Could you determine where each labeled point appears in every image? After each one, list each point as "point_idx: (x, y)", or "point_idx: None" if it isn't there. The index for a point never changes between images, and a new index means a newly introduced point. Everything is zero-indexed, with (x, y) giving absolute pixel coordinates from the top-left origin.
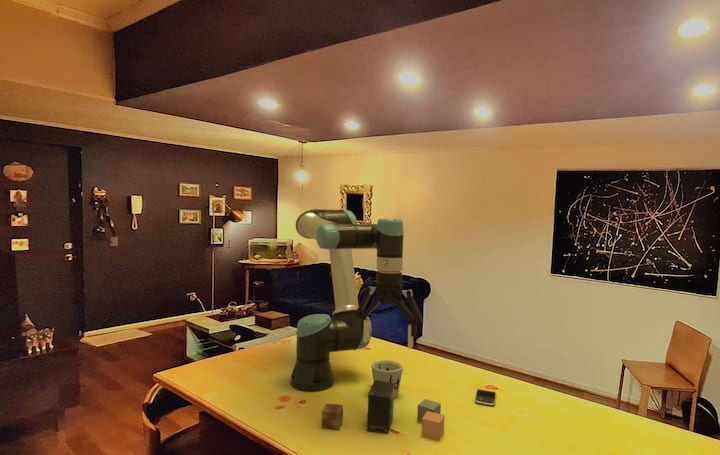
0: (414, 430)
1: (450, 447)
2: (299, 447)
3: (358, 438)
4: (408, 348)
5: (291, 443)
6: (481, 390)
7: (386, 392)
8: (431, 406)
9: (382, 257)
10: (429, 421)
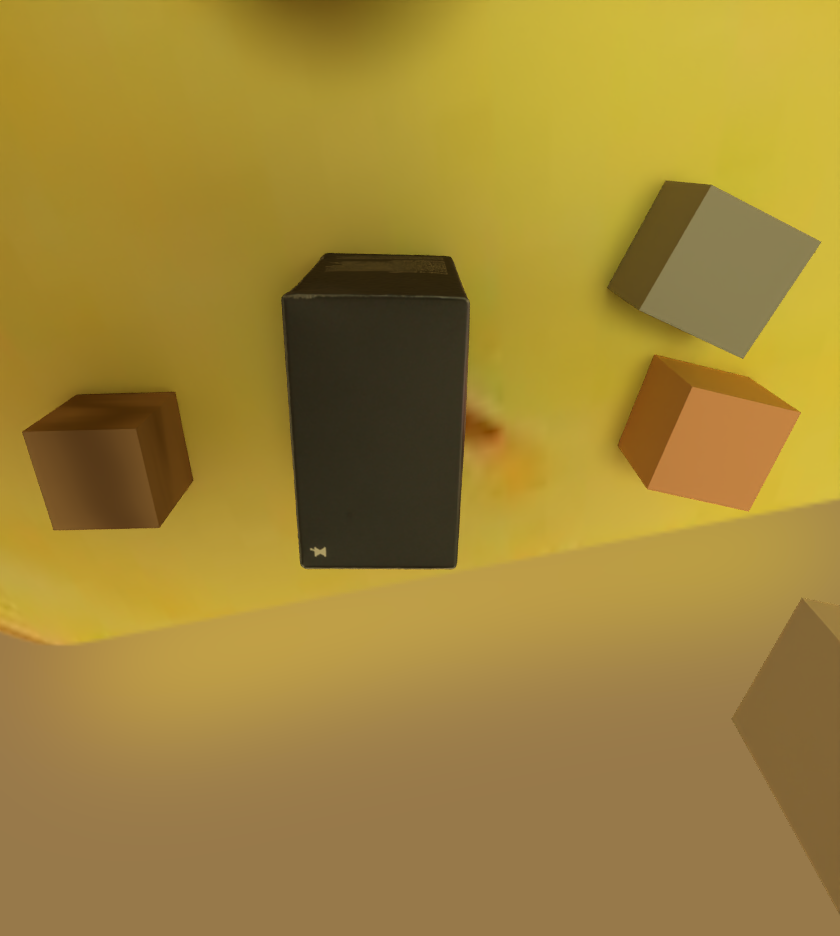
0: (583, 395)
1: None
2: (89, 635)
3: None
4: (743, 724)
5: (41, 618)
6: None
7: (425, 512)
8: (737, 310)
9: None
10: (687, 495)
